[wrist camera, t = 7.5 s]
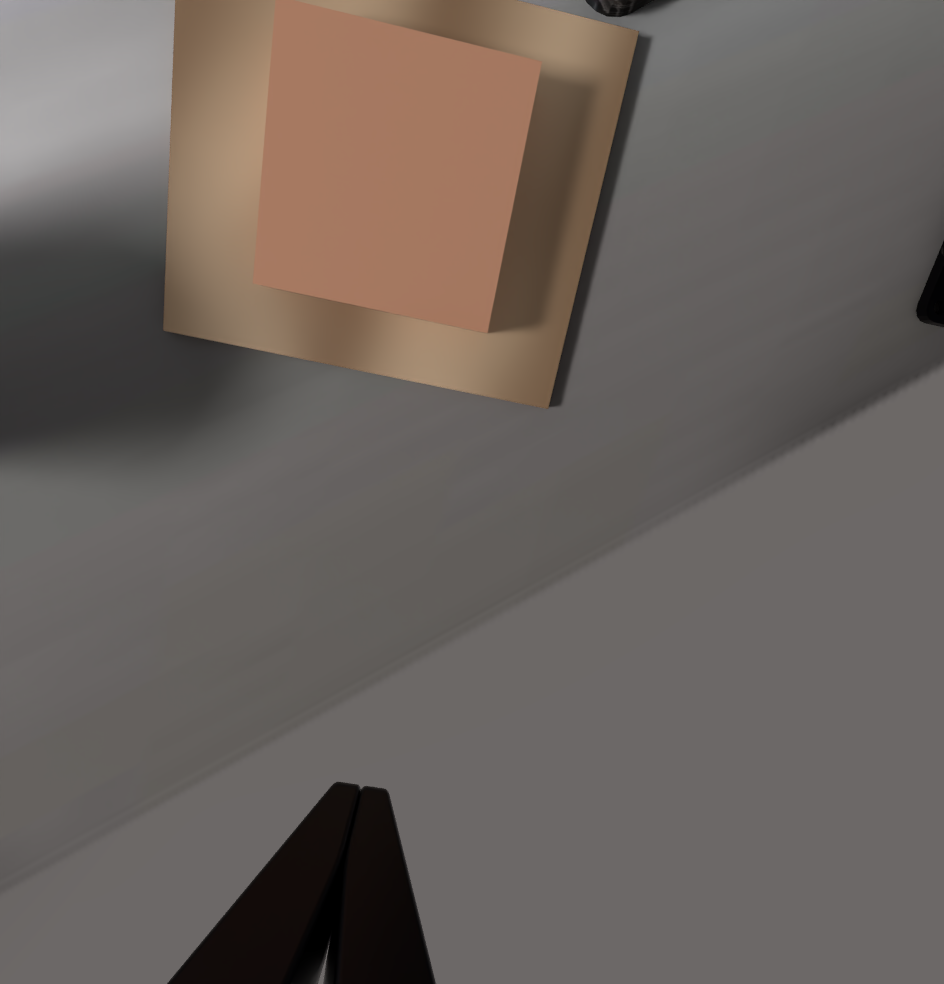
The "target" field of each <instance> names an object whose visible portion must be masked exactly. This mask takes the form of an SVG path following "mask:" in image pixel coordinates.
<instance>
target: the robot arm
mask: <svg viewBox="0 0 944 984" xmlns="http://www.w3.org/2000/svg"><path fill="white" fill-rule="evenodd" d="M937 301H938V302H939V310H938V311H937V312H936V313H935V311H934V306H935V304H936V302H937ZM916 312H917V317H918V318H919V320H920V321H922V322H924V323H927V324H932V325H936V326H940V327H944V242H943V244H942V246H941V249H940V251H939V254H938V256H937V259H936V261H935V263H934V266H933V268H932V271H931V273H930V276H929V278H928V280H927V283H926V285H925V288H924V290H923V293H922V295H921V297H920V300H919V302H918V305H917V309H916ZM329 942H330V943H329ZM328 946H329V949H328ZM327 950H328V955H327V961H326V968H325V975H324V982H323V984H436V982H435V978H434V974H433V970H432V966H431V962H430V958H429V954H428V950H427V946H426V941H425V938H424V933H423V929H422V925H421V921H420V917H419V913H418V909H417V905H416V901H415V897H414V893H413V889H412V885H411V880H410V876H409V873H408V868H407V864H406V860H405V856H404V852H403V848H402V844H401V840H400V836H399V832H398V828H397V823H396V820H395V815H394V811H393V807H392V803H391V799H390V795H389V793H388V791H387V790H386V789H383V788H376V787H369V786H364V787H363V788H362V789H360V786H359V785H357V784H349V783H343V782H336V783H334V784H333V785H332V786H331V787H330V789H329V790H328V791H327V792H326V793H325V794H324V796H323V797H322V798H321V799H320V800H319V802H318V803H317V804H316V805H315V806H314V808H313V809H312V810H311V811H310V813H309V814H308V815H307V816H306V817H305V818H304V820H303V821H302V822H301V823H300V824H299V826H298V827H297V828H296V829H295V831H294V832H293V833H292V834H291V835H290V836H289V838H288V839H287V840H286V841H285V842H284V844H283V845H282V846H281V847H280V849H279V850H278V851H277V852H276V853H275V855H274V856H273V857H272V858H271V859H270V861H269V862H268V863H267V864H266V866H265V867H264V868H263V869H262V870H261V871H260V873H259V874H258V875H257V876H256V877H255V879H254V880H253V881H252V882H251V883H250V885H249V886H248V887H247V888H246V889H245V891H244V892H243V893H242V894H241V895H240V897H239V898H238V899H237V900H236V902H235V903H234V904H233V905H232V906H231V907H230V909H229V910H228V911H227V912H226V914H225V915H224V916H223V917H222V918H221V919H220V921H219V922H218V923H217V924H216V926H215V927H214V928H213V929H212V930H211V932H210V933H209V934H208V935H207V936H206V938H205V939H204V940H203V941H202V942H201V944H200V945H199V946H198V947H197V948H196V950H195V951H194V952H193V953H192V954H191V956H190V957H189V958H188V959H187V960H186V962H185V963H184V964H183V965H182V966H181V968H180V969H179V970H178V971H177V972H176V974H175V975H174V976H173V977H172V978H171V980H170V981H169V982H168V983H167V984H318V981H319V978H320V975H321V971H322V968H323V965H324V961H325V958H326V954H327Z"/></svg>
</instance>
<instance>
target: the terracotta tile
mask: <svg viewBox="0 0 944 984" xmlns="http://www.w3.org/2000/svg"><path fill="white" fill-rule="evenodd" d="M541 64H542V61H538V60H534V59H530V58H526V57H522V56H518V55H514V54H510V53H506V52H501V51H497V50H493V49H489V48H485V47H481V46H477V45H473V44H469V43H465V42H461V41H457V40H453V39H449V38H445V37H441V36H437V35H433V34H429V33H425V32H421V31H417V30H413V29H408V28H404V27H400V26H396V25H392V24H388V23H384V22H380V21H376V20H372V19H368V18H364V17H360V16H356V15H352V14H348V13H344V12H340V11H336V10H332V9H328V8H324V7H320V6H316V5H311V4H307V3H303V2H299V1H295V0H275V12H274V24H273V37H272V49H271V62H270V74H269V87H268V99H267V112H266V124H265V137H264V149H263V161H262V174H261V186H260V199H259V211H258V224H257V236H256V249H255V261H254V274H253V284H257V285H261V286H265V287H268V288H272V289H277V290H282V291H286V292H291V293H296V294H300V295H305V296H310V297H315V298H319V299H324V300H329V301H334V302H338V303H343V304H348V305H353V306H357V307H362V308H367V309H371V310H376V311H381V312H386V313H390V314H395V315H400V316H405V317H409V318H414V319H419V320H424V321H428V322H433V323H438V324H442V325H447V326H452V327H457V328H461V329H466V330H471V331H476V332H480V333H485V334H486V333H488V328H489V323H490V318H491V313H492V308H493V303H494V298H495V293H496V288H497V283H498V278H499V273H500V268H501V263H502V258H503V253H504V248H505V243H506V238H507V233H508V228H509V224H510V219H511V214H512V209H513V204H514V199H515V194H516V189H517V184H518V179H519V174H520V169H521V164H522V159H523V154H524V149H525V144H526V139H527V134H528V129H529V124H530V119H531V114H532V109H533V104H534V99H535V94H536V89H537V84H538V79H539V74H540V69H541Z"/></svg>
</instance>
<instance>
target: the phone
mask: <svg viewBox="0 0 944 984" xmlns="http://www.w3.org/2000/svg"><path fill="white" fill-rule="evenodd" d="M652 1H654V0H586V2H587V3H588V4H589V5H590V6H591V7H592V8H593V9H594V10H595V11H596V12H599V13H601V14H603V15H605V16H611V17H621V16H624V15H626V14H629V13H632V12H634V11H636V10H637V9H639V8H641V7H643V6H645V5H646V4H648V3H650V2H652Z"/></svg>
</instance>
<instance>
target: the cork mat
mask: <svg viewBox="0 0 944 984" xmlns="http://www.w3.org/2000/svg"><path fill="white" fill-rule="evenodd" d="M295 1H299V2H303V3H307V4H311V5H316V6H320V7H324V8H328V9H332V10H336V11H340V12H344V13H348V14H352V15H356V16H360V17H364V18H368V19H372V20H376V21H380V22H384V23H388V24H392V25H396V26H400V27H404V28H408V29H413V30H417V31H421V32H425V33H429V34H433V35H437V36H441V37H445V38H449V39H453V40H457V41H461V42H465V43H469V44H473V45H477V46H481V47H485V48H489V49H493V50H497V51H501V52H506V53H510V54H514V55H518V56H522V57H526V58H530V59H534V60H538V61H542V64H541V69H540V74H539V79H538V84H537V89H536V94H535V99H534V104H533V109H532V114H531V119H530V124H529V129H528V134H527V139H526V144H525V149H524V154H523V159H522V164H521V169H520V174H519V179H518V184H517V189H516V194H515V199H514V204H513V209H512V214H511V219H510V224H509V228H508V233H507V238H506V243H505V248H504V253H503V258H502V263H501V268H500V273H499V278H498V283H497V288H496V293H495V298H494V303H493V308H492V313H491V318H490V323H489V328H488V333H486V334H485V333H480V332H476V331H471V330H466V329H461V328H457V327H452V326H447V325H442V324H438V323H433V322H428V321H424V320H419V319H414V318H409V317H405V316H400V315H395V314H390V313H386V312H381V311H376V310H371V309H367V308H362V307H357V306H353V305H348V304H343V303H338V302H334V301H329V300H324V299H319V298H315V297H310V296H305V295H300V294H296V293H291V292H286V291H282V290H277V289H272V288H268V287H265V286H261V285H257V284H253V274H254V261H255V249H256V236H257V224H258V211H259V199H260V186H261V174H262V161H263V149H264V137H265V124H266V112H267V99H268V87H269V74H270V62H271V49H272V37H273V24H274V12H275V0H175V24H174V51H173V78H172V105H171V132H170V159H169V186H168V213H167V240H166V267H165V294H164V321H163V331H168V332H173V333H177V334H182V335H187V336H192V337H197V338H202V339H207V340H212V341H217V342H222V343H227V344H232V345H236V346H241V347H246V348H251V349H256V350H261V351H266V352H271V353H276V354H281V355H286V356H290V357H295V358H300V359H305V360H310V361H315V362H320V363H325V364H330V365H335V366H340V367H345V368H349V369H354V370H359V371H364V372H369V373H374V374H379V375H384V376H389V377H394V378H399V379H404V380H408V381H413V382H418V383H423V384H428V385H433V386H438V387H443V388H448V389H453V390H458V391H463V392H467V393H472V394H477V395H482V396H487V397H492V398H497V399H502V400H507V401H512V402H517V403H522V404H526V405H531V406H536V407H541V408H546V409H548V407H549V403H550V399H551V395H552V390H553V386H554V382H555V378H556V374H557V370H558V366H559V361H560V357H561V353H562V349H563V345H564V341H565V336H566V332H567V328H568V324H569V320H570V316H571V312H572V307H573V303H574V299H575V295H576V291H577V287H578V283H579V278H580V274H581V270H582V266H583V262H584V258H585V253H586V249H587V245H588V241H589V237H590V233H591V229H592V224H593V220H594V216H595V212H596V208H597V204H598V199H599V195H600V191H601V187H602V183H603V179H604V175H605V170H606V166H607V162H608V158H609V154H610V150H611V146H612V141H613V137H614V133H615V129H616V125H617V121H618V116H619V112H620V108H621V104H622V100H623V96H624V92H625V87H626V83H627V79H628V75H629V71H630V67H631V62H632V58H633V54H634V50H635V46H636V42H637V38H638V33H639V31H636V30H632V29H628V28H624V27H620V26H616V25H612V24H608V23H604V22H600V21H596V20H592V19H589V18H585V17H581V16H577V15H573V14H569V13H565V12H561V11H557V10H553V9H549V8H545V7H541V6H537V5H533V4H530V3H526V2H522V1H518V0H295Z"/></svg>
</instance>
